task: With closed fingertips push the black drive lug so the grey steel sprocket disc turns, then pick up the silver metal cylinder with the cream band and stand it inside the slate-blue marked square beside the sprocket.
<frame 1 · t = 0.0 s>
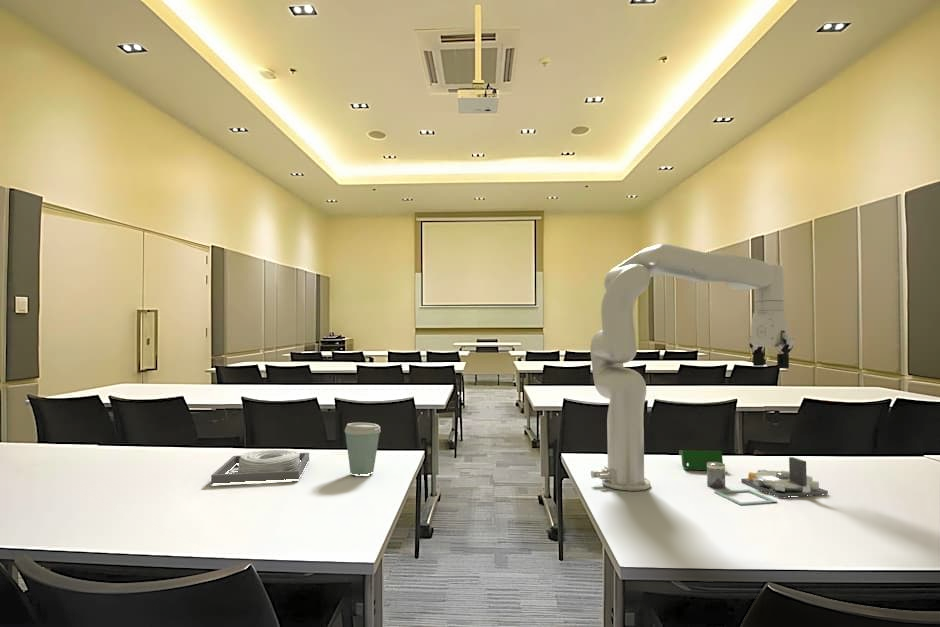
hand: (770, 366, 154), 31 cm above the table, tool pointing down, fingers open, 9 cm apart
silver metal cylinder: (716, 486, 144), on the table
green mounting bracket: (700, 469, 163), on the table
cable tray: (264, 473, 159), on the table
disposable coffee cup: (362, 475, 157), on the table
sprocket base: (782, 488, 142), on the table
seat bay: (744, 497, 134), on the table
cable: (270, 474, 160), resting in cable tray
sprocket: (782, 469, 142), point 5 cm above the table, hinge at 0.0°
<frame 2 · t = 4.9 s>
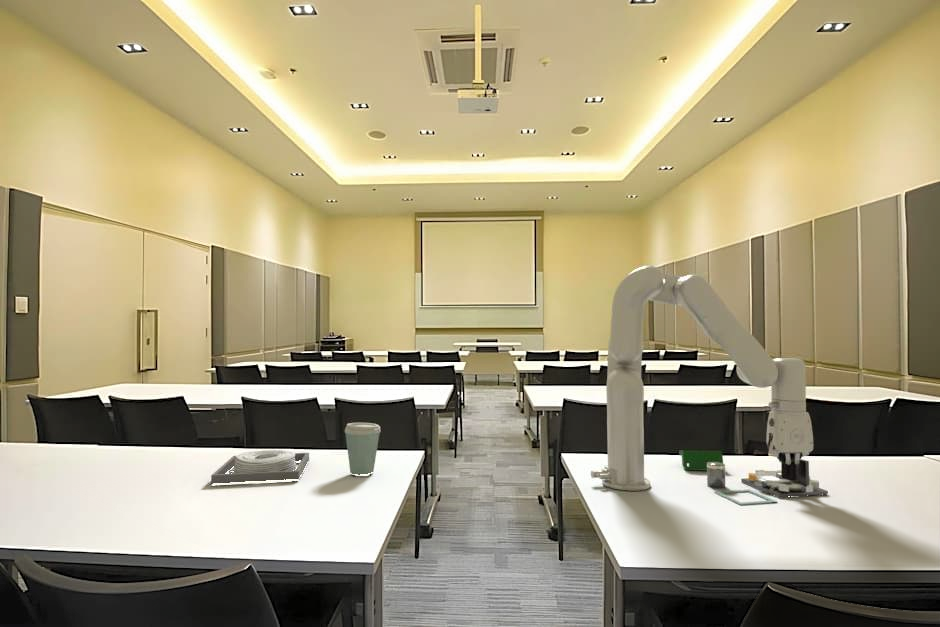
hand: (788, 478, 136), 4 cm above the table, tool pointing down, fingers closed
cable: (265, 474, 160), resting in cable tray
sprocket: (782, 469, 142), point 5 cm above the table, hinge at 6.4°, touching gripper
everything else where it was.
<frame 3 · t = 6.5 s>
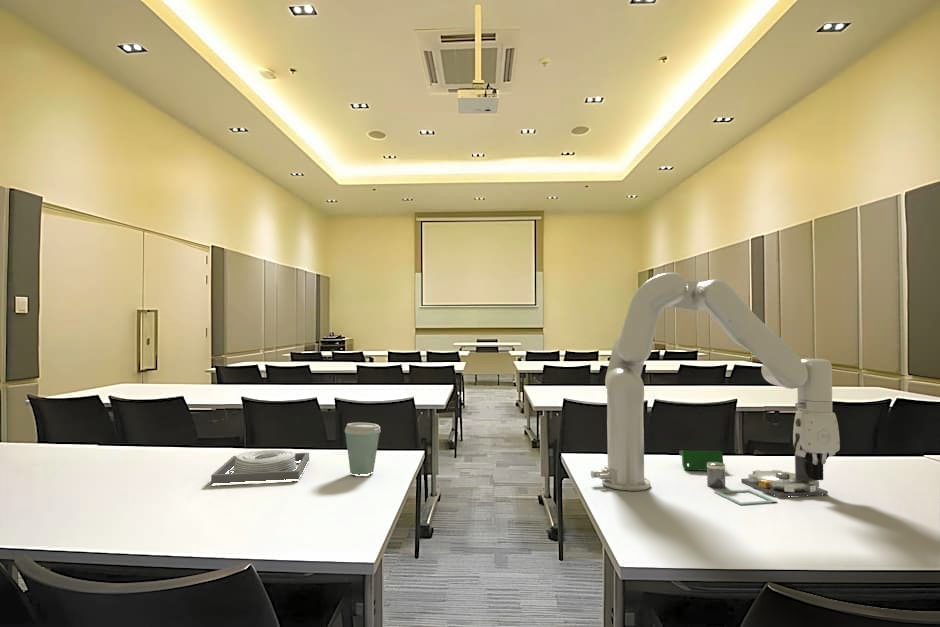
hand: (815, 478, 137), 4 cm above the table, tool pointing down, fingers closed
cable: (265, 474, 160), resting in cable tray
sprocket: (782, 469, 142), point 5 cm above the table, hinge at 60.2°, touching gripper
everything else where it was.
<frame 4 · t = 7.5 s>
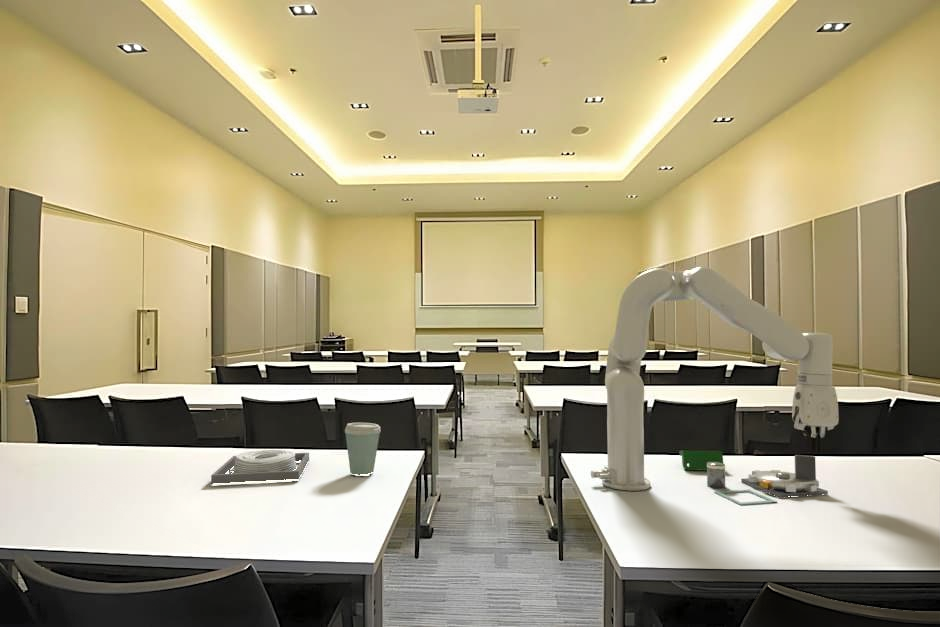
hand: (813, 452, 138), 11 cm above the table, tool pointing down, fingers closed
sprocket: (782, 469, 142), point 5 cm above the table, hinge at 62.6°
everything else where it was.
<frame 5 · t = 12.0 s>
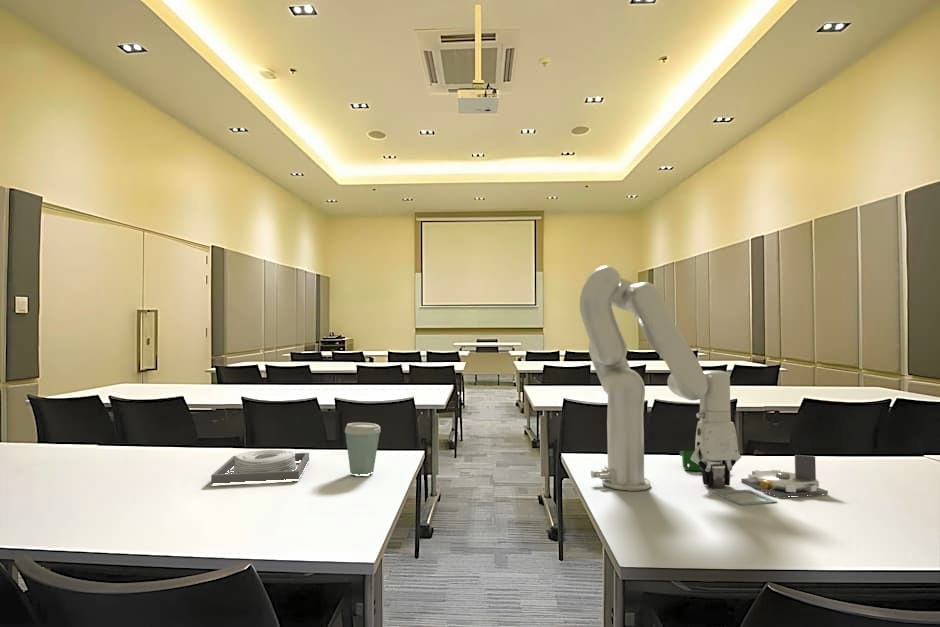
hand: (716, 484, 144), 1 cm above the table, tool pointing down, fingers closed on silver metal cylinder, 4 cm apart
silver metal cylinder: (716, 486, 144), on the table, touching gripper
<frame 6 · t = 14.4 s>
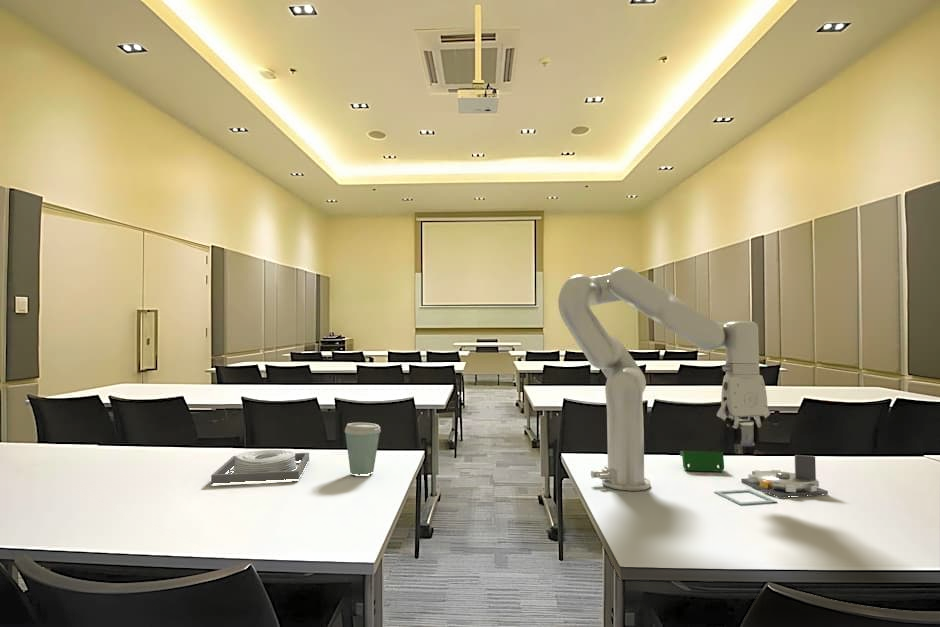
hand: (744, 442, 135), 14 cm above the table, tool pointing down, fingers closed on silver metal cylinder, 4 cm apart
silver metal cylinder: (744, 444, 135), point 13 cm above the table, touching gripper
when the fingers open (2 cm above the table, at t = 16.7 s): silver metal cylinder drops 1 cm, on the table.
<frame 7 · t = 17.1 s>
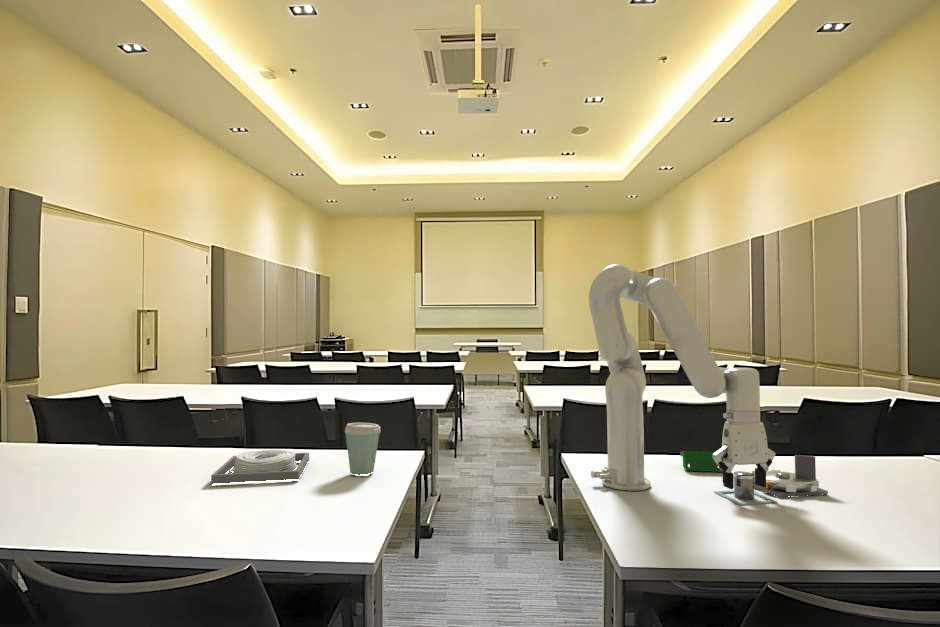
hand: (744, 486, 134), 3 cm above the table, tool pointing down, fingers open, 8 cm apart
silver metal cylinder: (744, 497, 134), on the table
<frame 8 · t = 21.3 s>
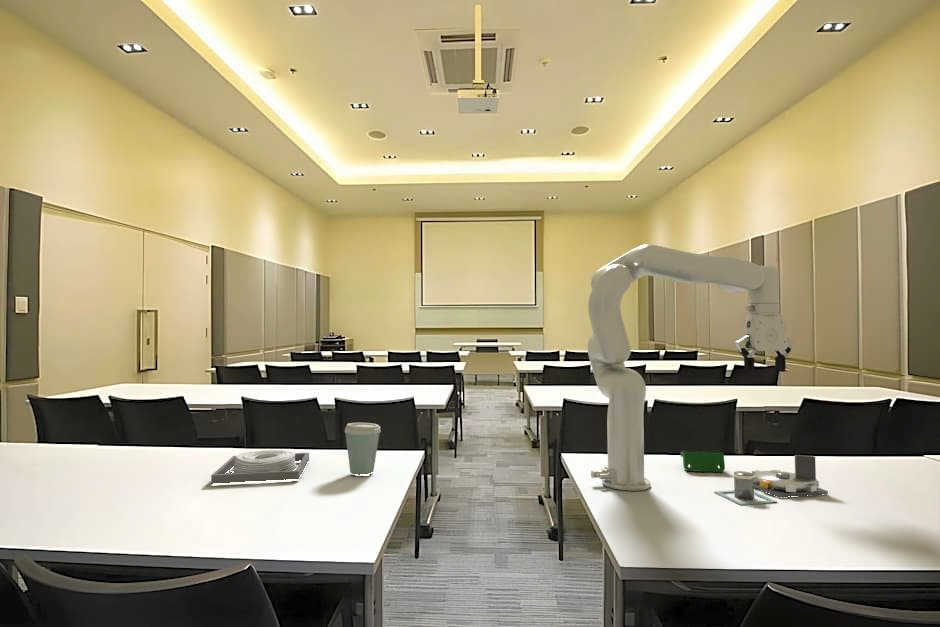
hand: (765, 371, 150), 30 cm above the table, tool pointing down, fingers open, 9 cm apart
at the end: sprocket at +63° (first picture: +0°); silver metal cylinder inside the target area on the seat bay (0.1 cm from its centre), point 0.0 cm above the seat bay's base; silver metal cylinder tilted 0° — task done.
